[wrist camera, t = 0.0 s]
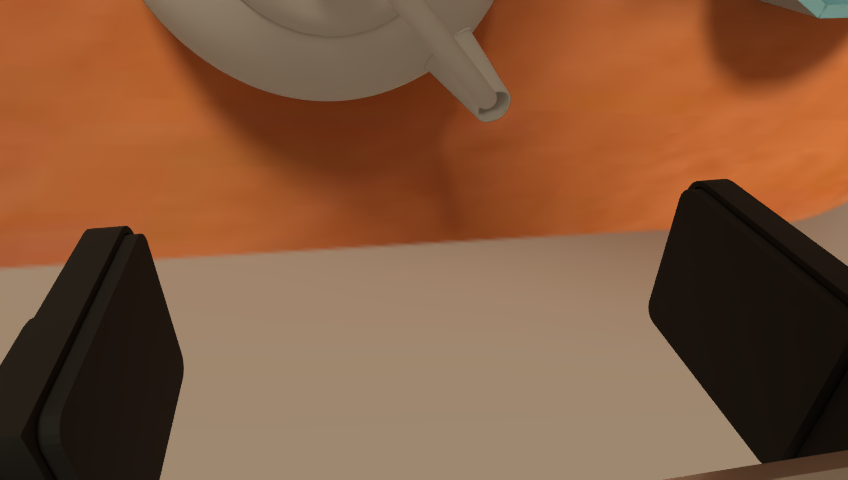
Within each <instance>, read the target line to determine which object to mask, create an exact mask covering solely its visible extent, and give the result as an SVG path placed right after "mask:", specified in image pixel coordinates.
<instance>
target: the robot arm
mask: <svg viewBox="0 0 848 480" xmlns="http://www.w3.org/2000/svg"><path fill="white" fill-rule="evenodd" d="M649 314H650V318H651V320H652V321H653V323H654V324H655V326H656V327H657V328H658V330H659V331H660V332H661V333H662V335H663V336H664V337H665V339H666V340H667V341H668V343H669V344H670V345H671V346H672V348H673V349H674V350H675V352H676V353H677V354H678V356H679V357H680V358H681V360H682V361H683V362H684V363H685V365H686V366H687V367H688V369H689V370H690V371H691V372H692V374H693V375H694V376H695V378H696V379H697V380H698V382H699V383H700V384H701V386H702V387H703V388H704V389H705V391H706V392H707V393H708V395H709V396H710V397H711V399H712V400H713V401H714V402H715V404H716V405H717V406H718V408H719V409H720V410H721V412H722V413H723V414H724V416H725V417H726V418H727V419H728V421H729V422H730V423H731V425H732V426H733V427H734V429H735V430H736V431H737V432H738V434H739V435H740V436H741V438H742V439H743V440H744V441H745V443H746V444H747V446H748V447H749V448H750V449H751V451H752V452H753V453H754V454H755V456H756V457H757V458H758V460H759V461H760V462H761V463H762V464H758V465H752V466H746V467H740V468H733V469H727V470H721V471H714V472H708V473H702V474H696V475H690V476H684V477H678V478H671V479H666V480H848V266H847V265H845V264H844V263H843V262H841V261H840V260H838V259H837V258H836V257H834V256H833V255H832V254H830V253H829V252H828V251H826V250H825V249H823V248H822V247H821V246H819V245H818V244H817V243H815V242H814V241H813V240H811V239H810V238H809V237H807V236H806V235H805V234H803V233H802V232H800V231H799V230H798V229H796V228H795V227H794V226H792V225H791V224H789V223H788V222H787V221H785V220H784V219H783V218H781V217H780V216H779V215H777V214H776V213H775V212H773V211H772V210H771V209H769V208H768V207H766V206H765V205H764V204H762V203H761V202H760V201H758V200H757V199H756V198H754V197H753V196H752V195H750V194H749V193H747V192H746V191H745V190H743V189H742V188H741V187H739V186H738V185H737V184H735V183H734V182H732V181H730V180H728V179H718V180H705V181H696V182H694V183H692V184H691V186H690V187H689V188H688V190H686V191H684V192H683V193H682V194H681V197H680V199H679V202H678V206H677V209H676V213H675V216H674V219H673V223H672V226H671V229H670V233H669V236H668V240H667V243H666V246H665V250H664V253H663V257H662V260H661V263H660V267H659V270H658V274H657V277H656V280H655V284H654V287H653V290H652V294H651V297H650V300H649ZM183 366H184V365H183V357H182V353H181V350H180V347H179V344H178V340H177V337H176V334H175V330H174V327H173V324H172V321H171V317H170V314H169V311H168V308H167V304H166V301H165V298H164V294H163V291H162V288H161V285H160V281H159V278H158V275H157V272H156V268H155V265H154V262H153V258H152V255H151V252H150V249H149V245H148V242H147V240H146V238H145V236H144V235H143V234H133V232H132V230H131V229H130V228H129V227H128V226H119V227H106V228H93V229H87V230H86V231H85V232H84V234H83V235H82V237H81V239H80V240H79V242H78V244H77V246H76V247H75V249H74V251H73V252H72V254H71V256H70V257H69V259H68V261H67V263H66V264H65V266H64V268H63V269H62V271H61V273H60V274H59V276H58V278H57V280H56V282H55V283H54V285H53V287H52V288H51V290H50V291H49V293H48V295H47V296H46V298H45V300H44V302H43V303H42V305H41V307H40V308H39V310H38V312H37V314H36V315H35V317H34V318H32V319H30V320H29V321H28V322H27V323H26V325H25V326H24V327H23V329H22V330H21V332H20V334H19V336H18V337H17V339H16V340H15V342H14V344H13V345H12V347H11V349H10V350H9V352H8V354H7V355H6V357H5V359H4V360H3V362H2V364H1V365H0V480H159V479H160V475H161V471H162V466H163V462H164V457H165V453H166V448H167V444H168V440H169V436H170V431H171V427H172V423H173V419H174V414H175V410H176V405H177V401H178V397H179V393H180V388H181V384H182V379H183V371H184V367H183Z"/></svg>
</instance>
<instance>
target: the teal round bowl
mask: <svg viewBox="0 0 848 480" xmlns="http://www.w3.org/2000/svg"><path fill="white" fill-rule="evenodd" d="M759 1H762V2H766V3H769V4H773V5H776V6H779V7H783V8H786V9H789V10H793V11H796V12H799V13H803V14H806V15H809V16H813V17H816V18H848V0H759Z"/></svg>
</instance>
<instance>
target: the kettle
mask: <svg viewBox="0 0 848 480" xmlns="http://www.w3.org/2000/svg"><path fill="white" fill-rule="evenodd" d="M143 1H144V3H145V4H146V5H147V6H148V8H149V9H150V10H151V11H152V12H153V14H154V15H155V16H156V17H157V18H158V19H159V21H160V22H161V23H162V24H163V25H164V26H165V27H166V28H167V29H168V30H169V31H170V32H171V33H172V34H173V35H174V36H175V37H176V38H177V39H178V40H180V41H181V42H182V43H183V44H184V45H185V46H186V47H188V48H189V49H190V50H191V51H193V52H194V53H195V54H196V55H198V56H199V57H201V58H202V59H203V60H205V61H206V62H208V63H209V64H211V65H212V66H214V67H215V68H217V69H218V70H220V71H222V72H223V73H225V74H227V75H229V76H231V77H233V78H235V79H237V80H239V81H241V82H243V83H245V84H248V85H250V86H252V87H255V88H258V89H260V90H263V91H266V92H269V93H273V94H276V95H280V96H285V97H289V98H295V99H301V100H310V101H345V100H354V99H360V98H365V97H370V96H374V95H377V94H381V93H384V92H387V91H390V90H393V89H395V88H398V87H400V86H402V85H405V84H407V83H409V82H411V81H413V80H415V79H417V78H419V77H420V76H422V75H424V74H426V73H428V72H430V73H431V74H432V75H433V76H434V77H435V78H436V79H437V80H438V81H439V82H440V83H442V84H443V85H444V86H445V87H446V88H447V89H448V90H449V91H450V92H451V93H452V94H453V95H454V96H455V97H456V98H457V99H458V100H459V101H460V102H461V103H462V104H463V105H464V106H465V107H466V108H467V109H468V110H469V111H470V112H471V113H473V114H474V115H475V116H476V117H477V118H478V119H479V120H480V121H483V122H491V121H495V120H497V119H499V118H501V117H502V116H503V115H504V114H505V113H506V111H507V110H508V107H509V105H510V101H511V96H510V94H509V92H508V90H507V89H506V87H505V86H504V84H503V82H502V81H501V79H500V77H499V76H498V74H497V73H496V71H495V69H494V68H493V66H492V65H491V63H490V61H489V60H488V58H487V56H486V55H485V53H484V52H483V50H482V48H481V47H480V45H479V43H478V42H477V40H476V39H475V37H474V35H473V34H472V33H473V31H474V30H475V29H476V27H477V26H478V24H479V23H480V22H481V20H482V19H483V17H484V16H485V14H486V13H487V11H488V10H489V8H490V6H491V5H492V3H493V1H494V0H143Z"/></svg>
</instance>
